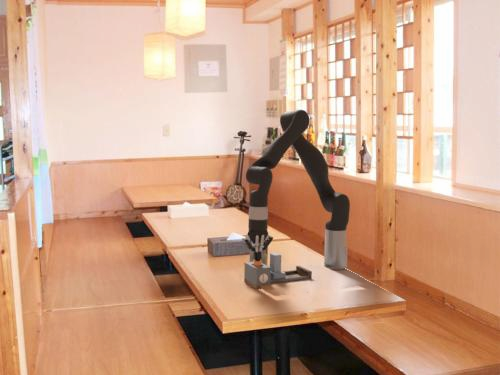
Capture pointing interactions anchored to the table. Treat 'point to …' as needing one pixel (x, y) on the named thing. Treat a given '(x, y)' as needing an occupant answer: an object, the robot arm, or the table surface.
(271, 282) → the guide rails
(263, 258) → the coffee box
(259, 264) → the button
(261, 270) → the cabinet
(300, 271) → the rail bed
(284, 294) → the table surface
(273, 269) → the carriage
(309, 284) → the table surface
